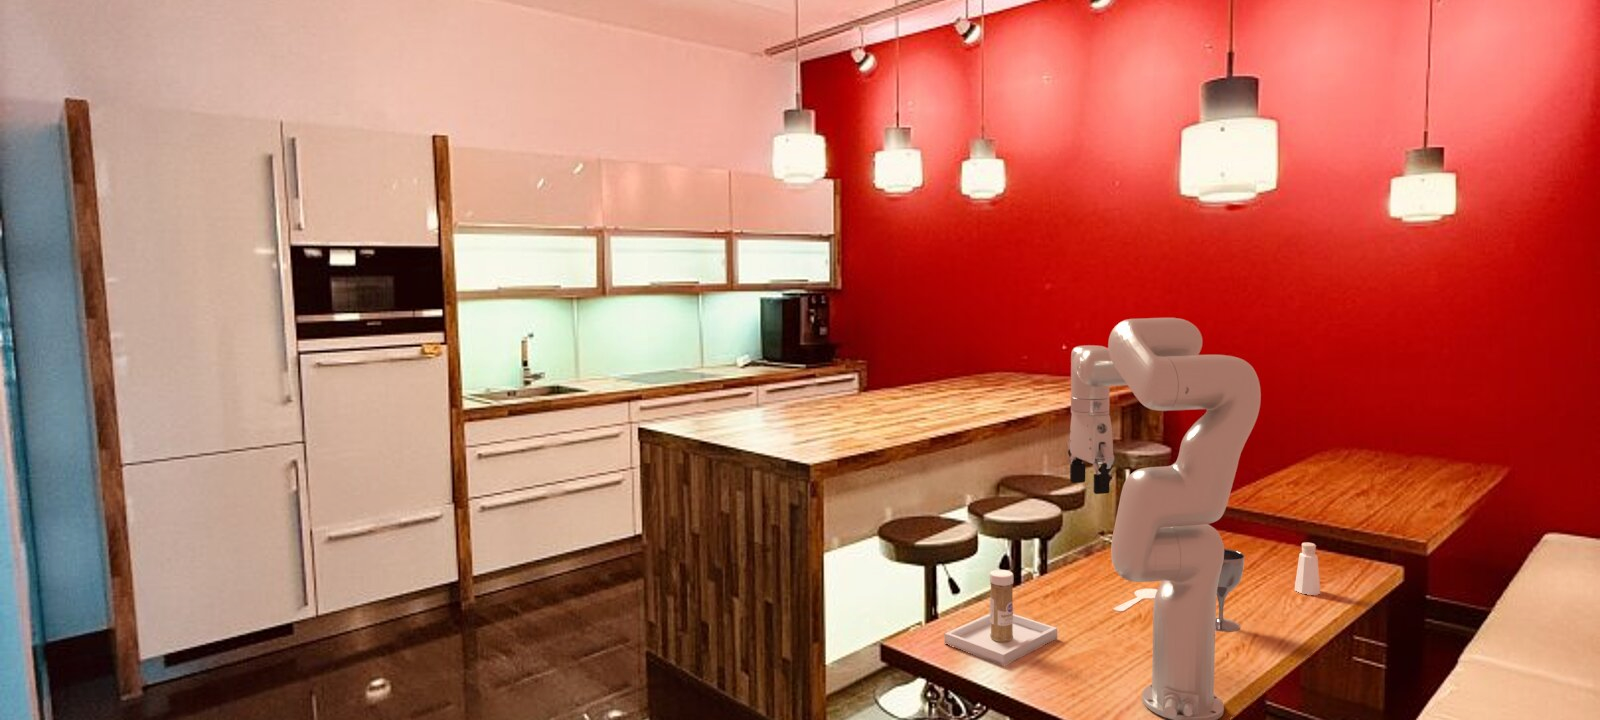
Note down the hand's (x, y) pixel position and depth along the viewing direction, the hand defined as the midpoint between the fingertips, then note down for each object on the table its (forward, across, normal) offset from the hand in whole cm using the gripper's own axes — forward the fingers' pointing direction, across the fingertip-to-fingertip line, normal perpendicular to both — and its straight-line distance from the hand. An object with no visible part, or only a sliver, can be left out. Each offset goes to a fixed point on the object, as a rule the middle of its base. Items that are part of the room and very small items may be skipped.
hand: (1089, 487), depth 184 cm
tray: (+28, -6, +22) cm, 36 cm away
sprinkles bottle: (+28, -6, +22) cm, 36 cm away
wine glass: (+28, -9, -25) cm, 39 cm away
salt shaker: (+29, +3, -55) cm, 62 cm away
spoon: (+29, +8, -16) cm, 34 cm away
